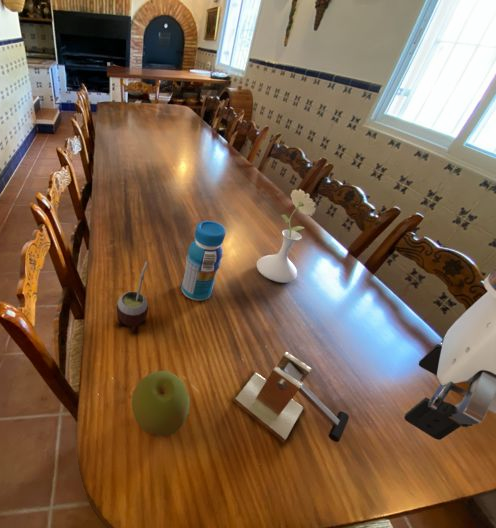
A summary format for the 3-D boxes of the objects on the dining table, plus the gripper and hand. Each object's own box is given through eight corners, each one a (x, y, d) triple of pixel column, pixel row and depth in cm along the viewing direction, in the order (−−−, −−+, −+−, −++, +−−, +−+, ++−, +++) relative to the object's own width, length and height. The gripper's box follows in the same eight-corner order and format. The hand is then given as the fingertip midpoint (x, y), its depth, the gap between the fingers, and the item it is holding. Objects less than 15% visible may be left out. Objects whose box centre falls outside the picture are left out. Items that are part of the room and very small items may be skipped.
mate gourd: (119, 337, 67) (120, 289, 57) (114, 311, 72) (113, 263, 63) (151, 332, 68) (157, 284, 59) (143, 307, 74) (147, 260, 65)
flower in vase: (301, 286, 84) (344, 208, 68) (262, 286, 83) (297, 206, 67) (282, 258, 94) (316, 184, 78) (248, 257, 93) (275, 182, 78)
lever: (341, 420, 49) (353, 417, 47) (331, 443, 46) (344, 441, 44) (283, 361, 52) (292, 356, 50) (270, 379, 49) (280, 375, 48)
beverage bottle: (174, 292, 79) (186, 228, 66) (189, 276, 85) (203, 214, 72) (202, 307, 75) (220, 242, 63) (216, 289, 81) (235, 226, 68)
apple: (160, 380, 59) (166, 347, 52) (196, 419, 54) (208, 389, 47) (119, 412, 54) (120, 380, 47) (155, 459, 48) (162, 431, 41)
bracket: (301, 410, 56) (332, 374, 48) (283, 442, 52) (314, 408, 43) (253, 375, 61) (274, 336, 53) (233, 401, 57) (253, 364, 49)
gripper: (664, 391, 18) (462, 486, 28) (604, 268, 28) (472, 372, 38) (493, 321, 22) (373, 427, 32) (496, 236, 32) (403, 338, 42)
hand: (427, 397), depth 35 cm, fingers open, 9 cm apart
